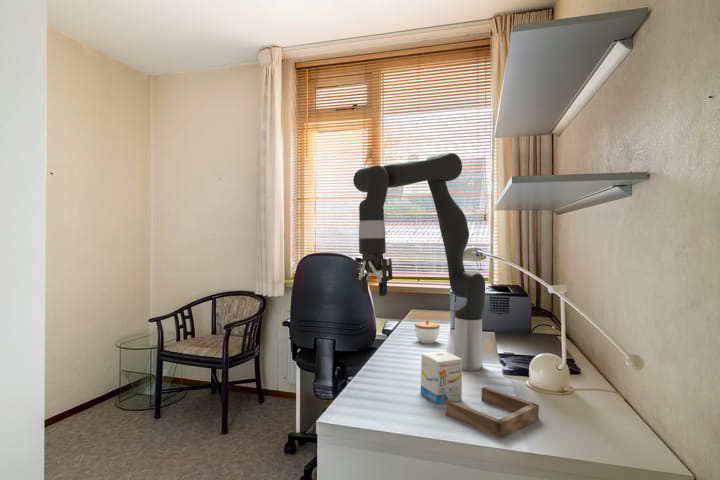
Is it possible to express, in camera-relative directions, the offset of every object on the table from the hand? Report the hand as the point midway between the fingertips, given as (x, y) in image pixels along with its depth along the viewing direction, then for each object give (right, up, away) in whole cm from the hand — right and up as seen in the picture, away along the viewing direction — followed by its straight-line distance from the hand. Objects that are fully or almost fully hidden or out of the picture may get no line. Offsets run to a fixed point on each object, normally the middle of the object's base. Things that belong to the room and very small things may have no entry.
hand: (373, 294), depth 114 cm
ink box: (+19, -29, 0) cm, 35 cm away
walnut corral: (+29, -29, -12) cm, 43 cm away
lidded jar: (+25, -29, +62) cm, 73 cm away
